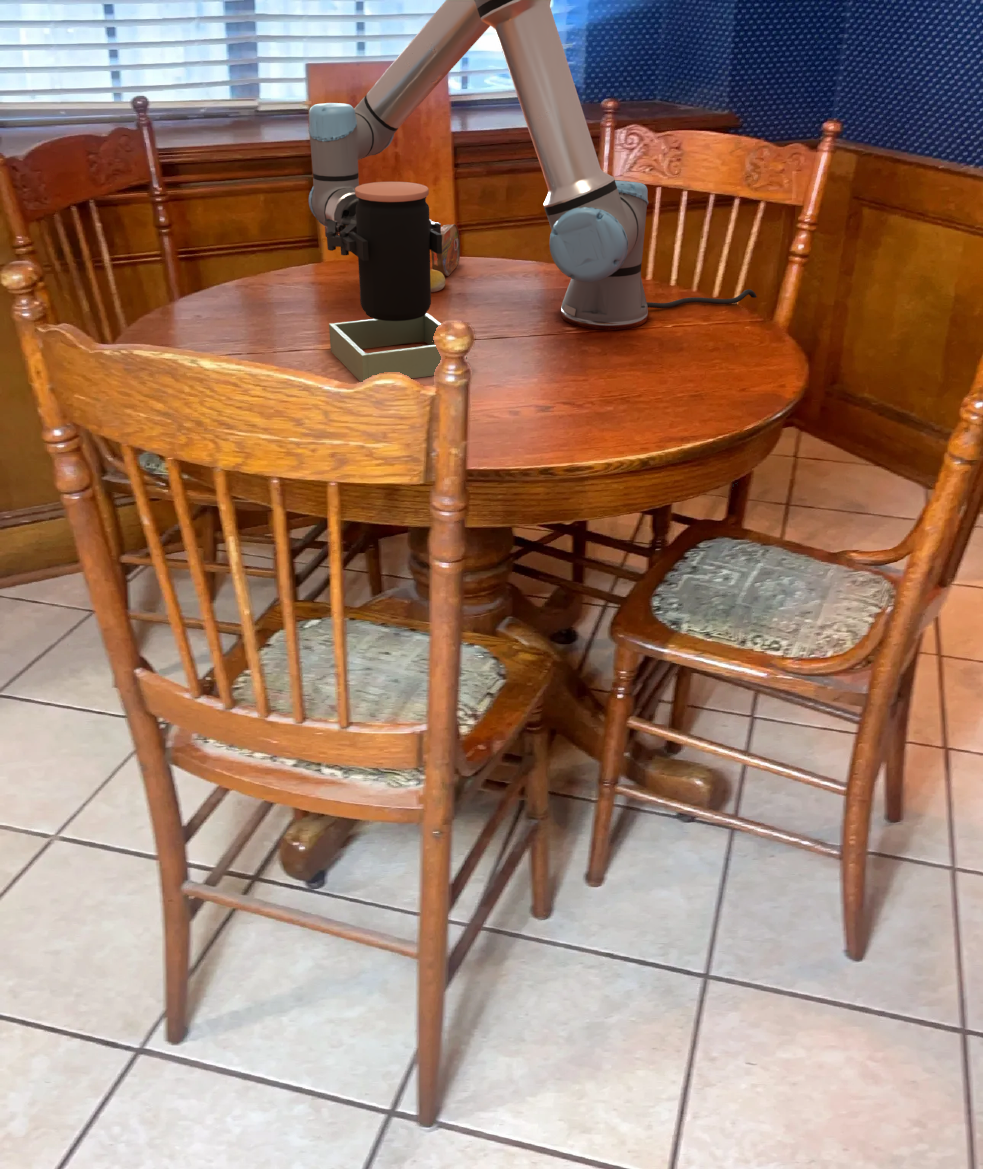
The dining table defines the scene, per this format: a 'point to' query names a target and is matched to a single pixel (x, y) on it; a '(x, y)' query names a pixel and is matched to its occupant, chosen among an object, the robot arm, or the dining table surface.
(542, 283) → the dining table surface
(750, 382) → the dining table surface
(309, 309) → the dining table surface
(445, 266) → the tin
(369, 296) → the coffee jar
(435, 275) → the bread roll
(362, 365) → the tray
